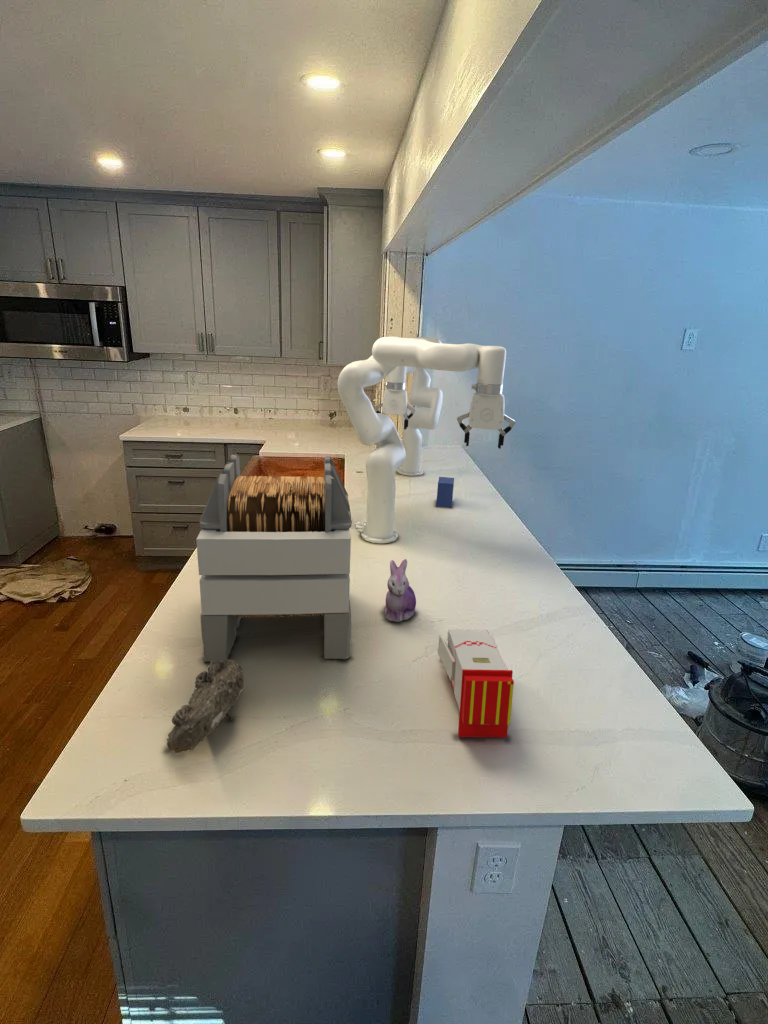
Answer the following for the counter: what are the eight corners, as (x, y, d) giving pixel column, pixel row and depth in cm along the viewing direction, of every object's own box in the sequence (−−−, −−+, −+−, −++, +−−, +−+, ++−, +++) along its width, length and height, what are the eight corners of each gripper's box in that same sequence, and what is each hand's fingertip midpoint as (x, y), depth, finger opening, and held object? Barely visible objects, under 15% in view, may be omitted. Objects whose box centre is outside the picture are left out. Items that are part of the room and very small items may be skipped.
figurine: (392, 627, 141) (395, 572, 136) (374, 608, 149) (376, 556, 144) (425, 619, 145) (429, 566, 140) (405, 601, 154) (408, 550, 149)
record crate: (225, 590, 155) (216, 445, 141) (344, 589, 159) (347, 447, 145) (201, 664, 123) (186, 485, 110) (351, 660, 127) (355, 487, 113)
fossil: (192, 660, 117) (244, 628, 112) (224, 691, 120) (276, 661, 115) (142, 746, 98) (202, 712, 93) (182, 779, 101) (242, 748, 96)
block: (436, 506, 229) (437, 482, 226) (437, 500, 237) (439, 476, 234) (451, 508, 228) (453, 483, 225) (452, 501, 237) (454, 477, 233)
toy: (488, 613, 130) (523, 677, 101) (484, 667, 133) (517, 744, 104) (435, 612, 130) (455, 676, 101) (432, 666, 133) (451, 743, 103)
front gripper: (459, 389, 164) (454, 447, 170) (520, 393, 162) (512, 451, 168) (459, 386, 171) (455, 441, 177) (518, 389, 169) (511, 445, 175)
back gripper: (373, 386, 230) (371, 427, 236) (415, 389, 228) (412, 431, 233) (377, 384, 237) (375, 424, 243) (418, 387, 235) (415, 428, 240)
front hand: (483, 446), depth 172 cm, fingers open, 9 cm apart
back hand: (393, 428), depth 238 cm, fingers open, 9 cm apart
